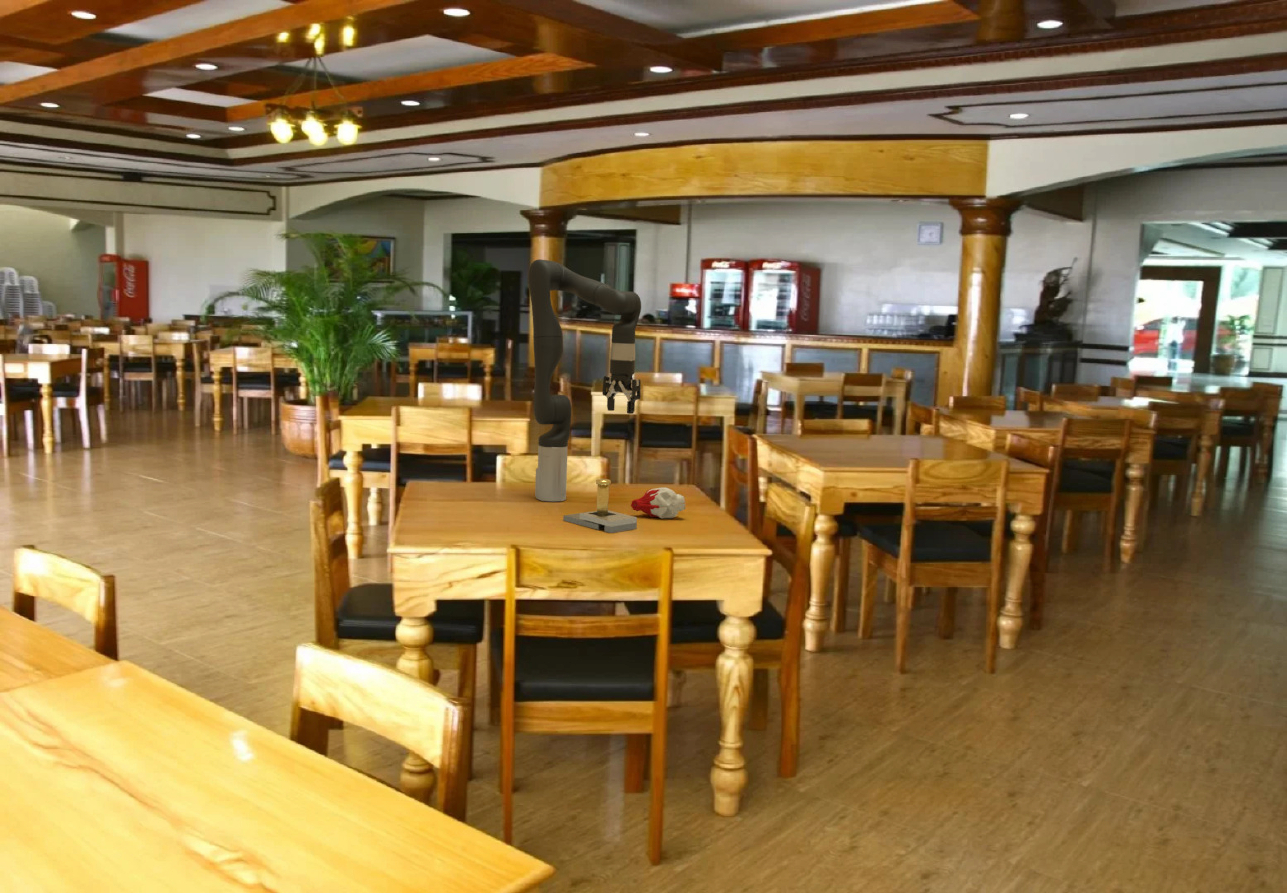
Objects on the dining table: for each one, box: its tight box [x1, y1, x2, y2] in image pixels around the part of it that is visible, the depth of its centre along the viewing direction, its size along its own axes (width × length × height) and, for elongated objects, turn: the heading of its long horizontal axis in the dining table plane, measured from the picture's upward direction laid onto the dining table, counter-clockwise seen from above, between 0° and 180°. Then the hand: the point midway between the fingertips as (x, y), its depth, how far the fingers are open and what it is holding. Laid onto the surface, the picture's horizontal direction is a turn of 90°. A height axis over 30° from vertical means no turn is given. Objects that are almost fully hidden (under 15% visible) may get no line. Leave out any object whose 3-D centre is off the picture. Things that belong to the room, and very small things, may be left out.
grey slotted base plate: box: [563, 509, 638, 534], centre depth 307 cm, size 20×10×3 cm, turn 45°
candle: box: [630, 487, 687, 519], centre depth 321 cm, size 9×11×15 cm
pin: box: [595, 478, 612, 517], centre depth 305 cm, size 4×4×13 cm
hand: (620, 412), depth 325 cm, fingers open, 8 cm apart
